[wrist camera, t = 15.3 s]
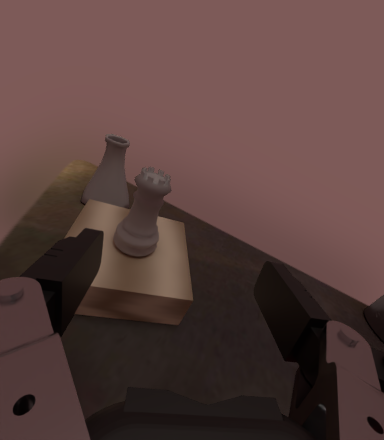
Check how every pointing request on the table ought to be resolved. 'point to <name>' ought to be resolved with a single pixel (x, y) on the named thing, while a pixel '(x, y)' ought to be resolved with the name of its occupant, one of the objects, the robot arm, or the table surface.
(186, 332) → the table surface
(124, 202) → the flask
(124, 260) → the maple plinth
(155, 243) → the rook chess piece
